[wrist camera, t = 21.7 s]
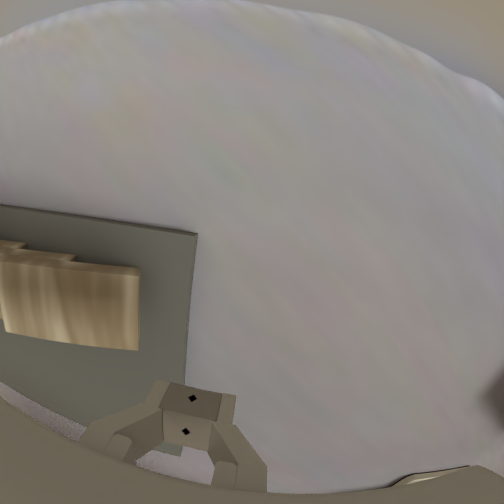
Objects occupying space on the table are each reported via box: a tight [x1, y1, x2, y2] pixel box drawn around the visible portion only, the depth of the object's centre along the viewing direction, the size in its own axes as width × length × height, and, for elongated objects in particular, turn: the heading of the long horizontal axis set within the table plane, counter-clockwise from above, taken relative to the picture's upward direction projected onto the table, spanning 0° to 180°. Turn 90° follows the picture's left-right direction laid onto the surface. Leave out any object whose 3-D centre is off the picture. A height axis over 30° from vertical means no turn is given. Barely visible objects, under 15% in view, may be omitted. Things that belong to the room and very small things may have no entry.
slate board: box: [0, 205, 198, 456], centre depth 19 cm, size 26×20×1 cm
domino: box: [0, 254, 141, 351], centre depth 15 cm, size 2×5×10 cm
